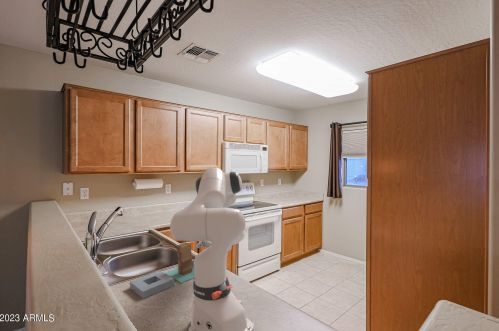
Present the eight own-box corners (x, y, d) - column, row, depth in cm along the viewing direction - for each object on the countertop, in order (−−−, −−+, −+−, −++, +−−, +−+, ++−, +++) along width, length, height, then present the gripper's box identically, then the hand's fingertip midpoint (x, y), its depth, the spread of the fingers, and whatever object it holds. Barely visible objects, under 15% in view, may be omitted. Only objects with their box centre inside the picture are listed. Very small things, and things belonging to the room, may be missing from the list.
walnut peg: (192, 272, 121) (191, 244, 121) (183, 275, 117) (182, 247, 117) (186, 269, 124) (185, 242, 124) (178, 272, 121) (177, 245, 121)
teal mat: (206, 272, 120) (206, 271, 120) (181, 283, 110) (181, 282, 110) (188, 264, 131) (188, 263, 131) (164, 273, 121) (164, 273, 121)
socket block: (174, 285, 109) (174, 278, 109) (143, 299, 98) (142, 291, 98) (159, 276, 118) (159, 270, 118) (130, 288, 108) (129, 281, 108)
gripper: (210, 232, 146) (190, 238, 136) (232, 239, 132) (213, 246, 122) (210, 243, 146) (191, 249, 136) (233, 250, 132) (213, 258, 122)
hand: (201, 248), depth 129 cm, fingers open, 8 cm apart
